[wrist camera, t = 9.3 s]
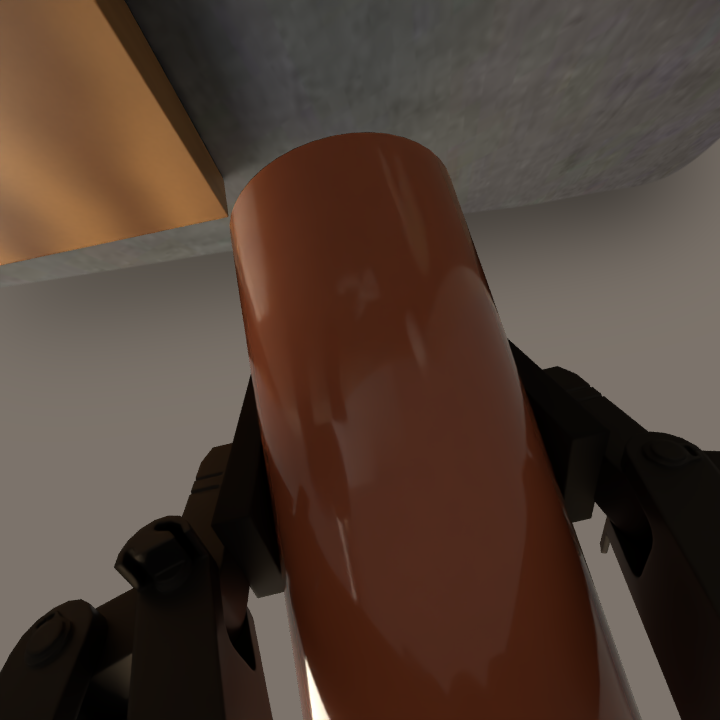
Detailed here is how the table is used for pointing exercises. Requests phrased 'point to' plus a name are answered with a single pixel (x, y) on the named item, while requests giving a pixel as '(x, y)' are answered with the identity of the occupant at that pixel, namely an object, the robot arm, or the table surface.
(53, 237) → the oak board
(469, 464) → the pen cup
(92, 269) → the table surface
